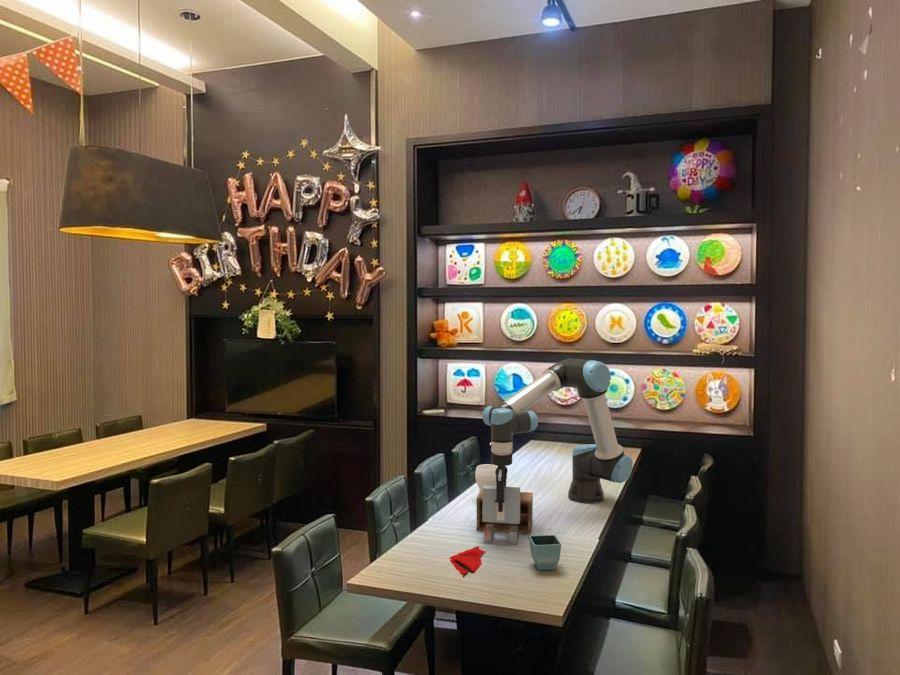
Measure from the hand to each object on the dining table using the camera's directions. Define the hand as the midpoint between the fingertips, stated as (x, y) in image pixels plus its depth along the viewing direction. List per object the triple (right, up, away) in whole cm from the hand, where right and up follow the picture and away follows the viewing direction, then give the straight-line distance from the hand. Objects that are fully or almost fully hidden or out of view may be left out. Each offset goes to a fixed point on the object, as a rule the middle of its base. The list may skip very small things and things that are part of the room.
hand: (501, 518), depth 233 cm
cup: (-2, -6, +44) cm, 45 cm away
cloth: (-12, -10, -18) cm, 24 cm away
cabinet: (+3, -7, +14) cm, 16 cm away
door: (0, -1, 0) cm, 1 cm away
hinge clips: (0, -8, +3) cm, 9 cm away
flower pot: (+12, -10, -23) cm, 28 cm away
